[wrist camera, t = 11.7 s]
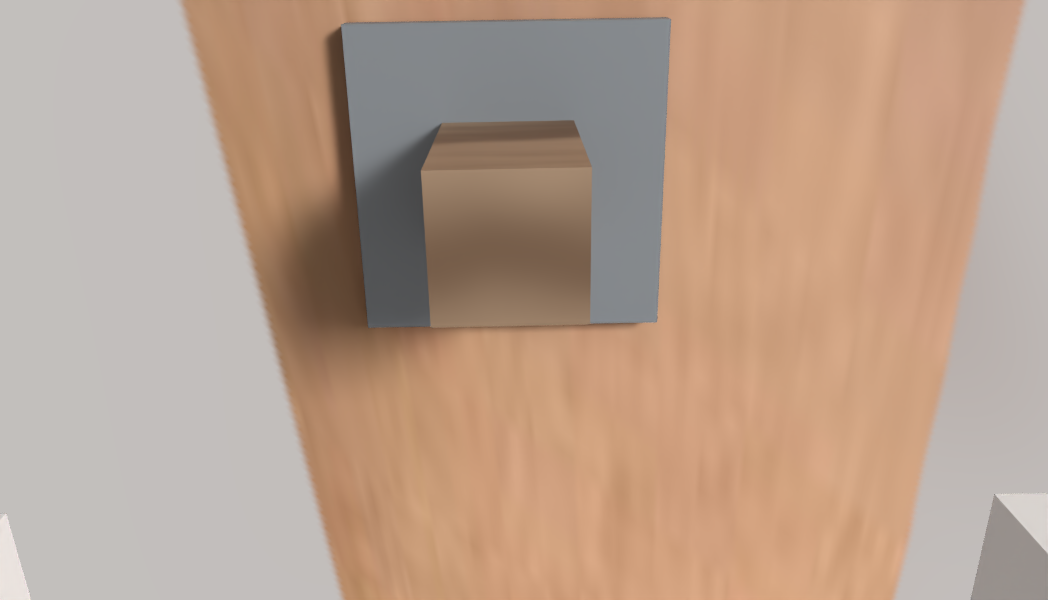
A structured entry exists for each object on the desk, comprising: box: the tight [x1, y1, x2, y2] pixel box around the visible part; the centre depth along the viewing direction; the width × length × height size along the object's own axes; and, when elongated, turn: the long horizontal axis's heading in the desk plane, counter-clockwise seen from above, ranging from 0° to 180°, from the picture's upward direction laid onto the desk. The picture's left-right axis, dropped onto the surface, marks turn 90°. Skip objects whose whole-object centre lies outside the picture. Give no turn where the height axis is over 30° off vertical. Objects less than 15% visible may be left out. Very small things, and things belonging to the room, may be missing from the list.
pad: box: [341, 17, 671, 328], centre depth 34 cm, size 12×12×1 cm
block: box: [421, 120, 592, 328], centre depth 30 cm, size 5×5×8 cm
